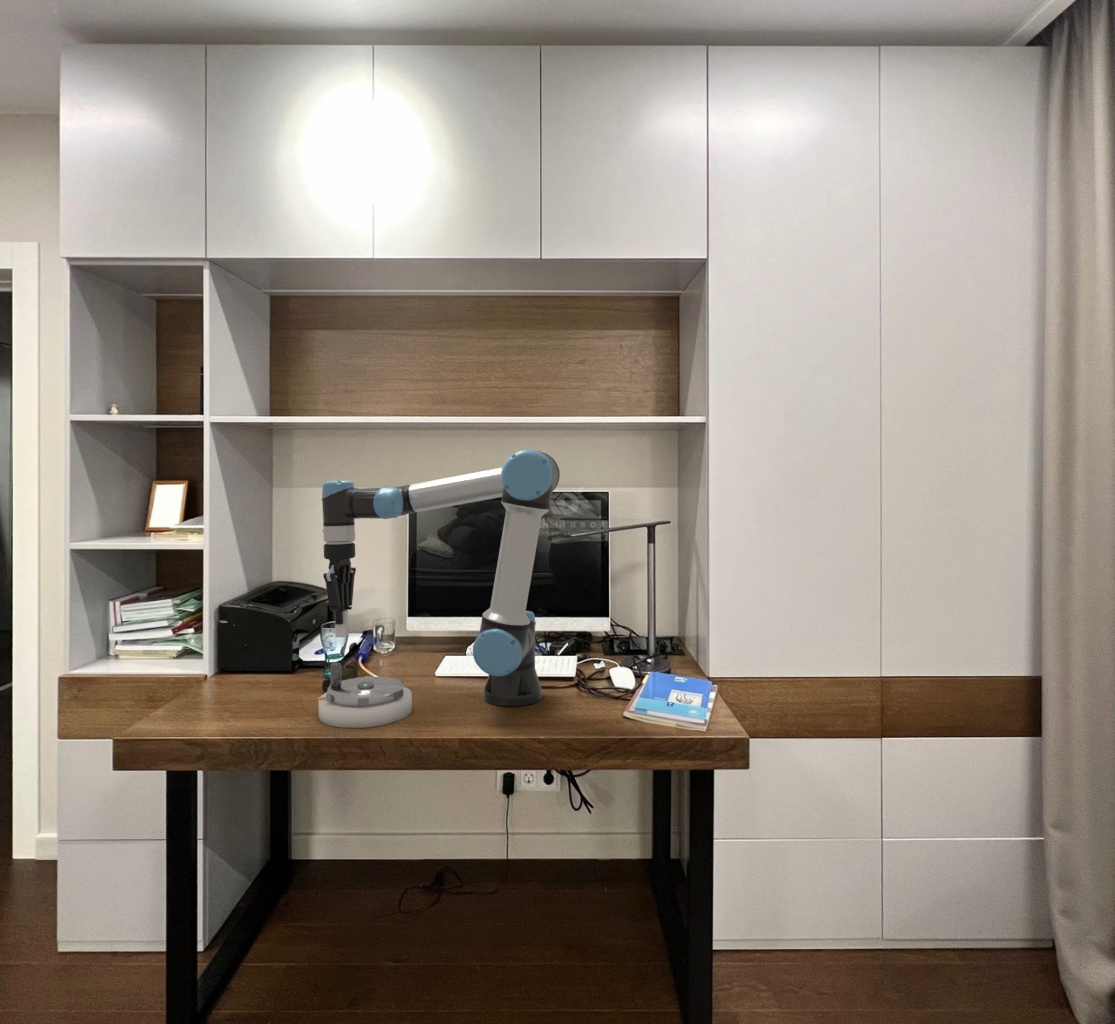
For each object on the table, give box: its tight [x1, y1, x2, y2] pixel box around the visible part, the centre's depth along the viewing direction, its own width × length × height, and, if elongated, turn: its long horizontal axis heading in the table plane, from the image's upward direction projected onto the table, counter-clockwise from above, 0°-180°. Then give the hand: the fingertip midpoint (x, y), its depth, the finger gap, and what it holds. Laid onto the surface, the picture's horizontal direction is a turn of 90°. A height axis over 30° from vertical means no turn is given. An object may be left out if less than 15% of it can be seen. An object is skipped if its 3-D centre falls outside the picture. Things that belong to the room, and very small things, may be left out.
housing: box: [317, 686, 413, 729], centre depth 173 cm, size 22×22×4 cm
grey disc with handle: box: [326, 662, 405, 707], centre depth 173 cm, size 18×19×8 cm
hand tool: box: [321, 660, 359, 694], centre depth 198 cm, size 19×4×5 cm, turn 171°
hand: (341, 636), depth 177 cm, fingers closed
